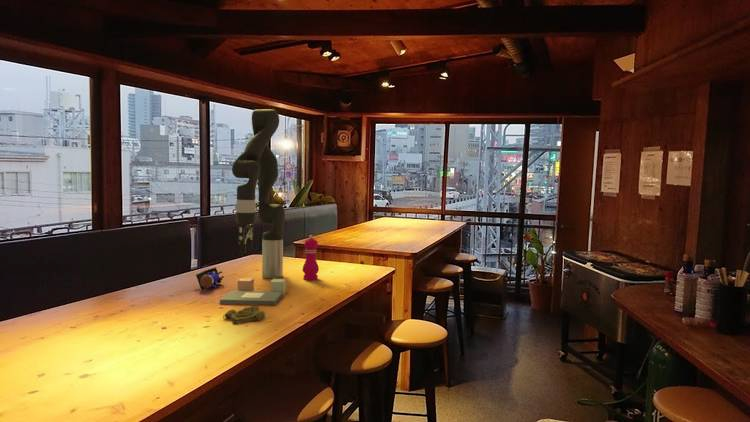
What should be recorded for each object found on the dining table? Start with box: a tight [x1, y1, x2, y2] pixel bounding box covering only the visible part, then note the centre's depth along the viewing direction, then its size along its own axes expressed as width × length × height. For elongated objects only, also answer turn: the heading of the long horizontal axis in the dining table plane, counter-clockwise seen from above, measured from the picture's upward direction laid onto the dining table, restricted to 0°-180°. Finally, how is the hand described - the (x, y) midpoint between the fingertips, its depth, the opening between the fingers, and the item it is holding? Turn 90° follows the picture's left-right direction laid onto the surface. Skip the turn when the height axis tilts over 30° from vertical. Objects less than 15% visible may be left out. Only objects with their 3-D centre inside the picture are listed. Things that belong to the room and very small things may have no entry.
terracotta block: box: [237, 277, 255, 291], centre depth 197 cm, size 5×5×5 cm
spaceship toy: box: [222, 305, 266, 325], centre depth 164 cm, size 12×18×4 cm
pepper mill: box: [302, 234, 320, 281], centre depth 221 cm, size 7×7×20 cm
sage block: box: [269, 278, 287, 295], centre depth 196 cm, size 5×5×5 cm
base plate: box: [219, 289, 284, 306], centre depth 185 cm, size 14×20×2 cm
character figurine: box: [195, 267, 225, 291], centre depth 202 cm, size 8×7×15 cm
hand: (245, 251), depth 195 cm, fingers open, 8 cm apart
